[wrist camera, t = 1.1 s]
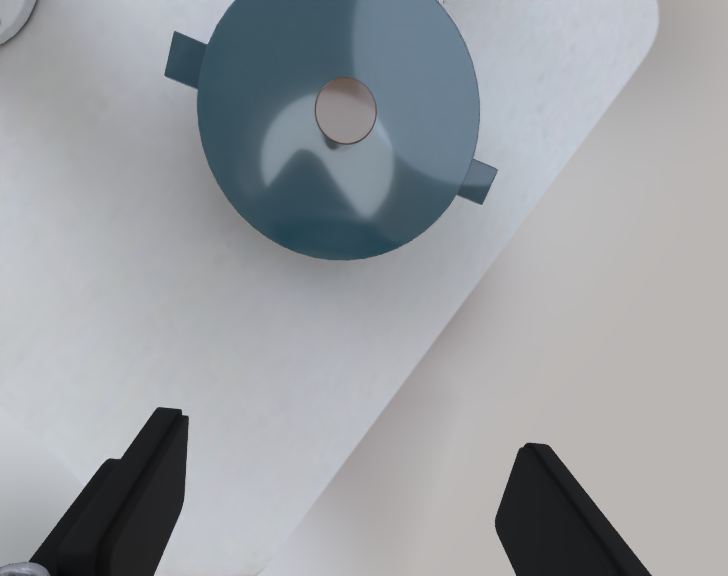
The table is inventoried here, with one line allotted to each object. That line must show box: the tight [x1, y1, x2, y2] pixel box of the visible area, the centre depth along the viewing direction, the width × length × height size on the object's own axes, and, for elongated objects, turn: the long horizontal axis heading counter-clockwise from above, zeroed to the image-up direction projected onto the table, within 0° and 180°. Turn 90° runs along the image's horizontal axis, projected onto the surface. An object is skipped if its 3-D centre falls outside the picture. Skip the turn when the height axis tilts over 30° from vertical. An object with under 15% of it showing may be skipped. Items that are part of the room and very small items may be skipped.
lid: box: [197, 0, 480, 260], centre depth 21 cm, size 16×16×6 cm
